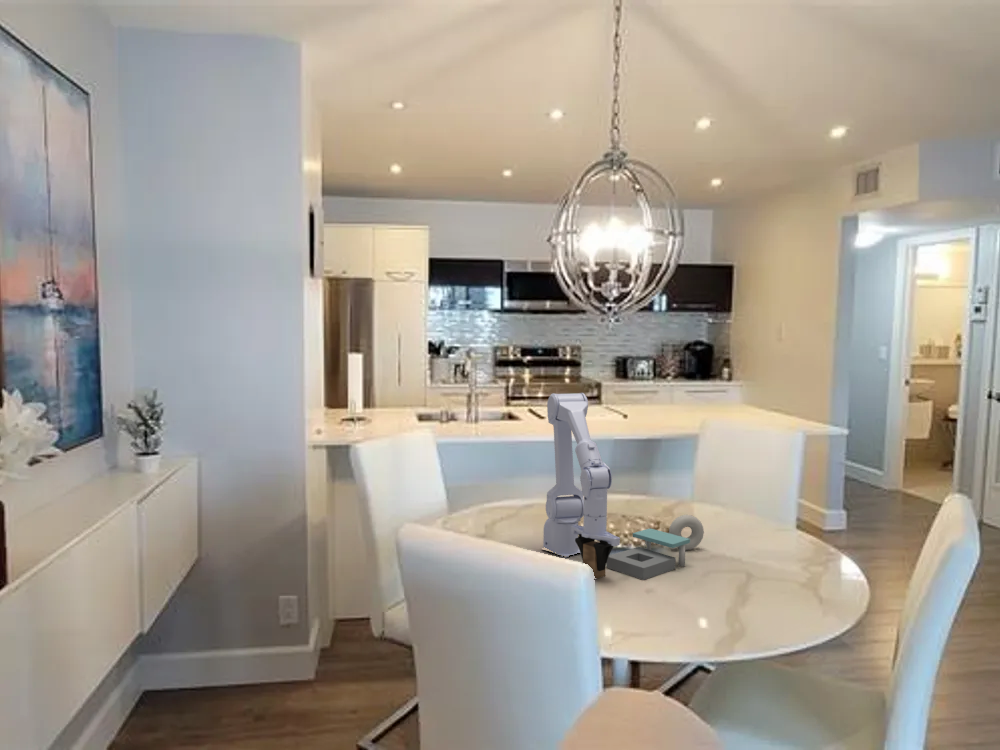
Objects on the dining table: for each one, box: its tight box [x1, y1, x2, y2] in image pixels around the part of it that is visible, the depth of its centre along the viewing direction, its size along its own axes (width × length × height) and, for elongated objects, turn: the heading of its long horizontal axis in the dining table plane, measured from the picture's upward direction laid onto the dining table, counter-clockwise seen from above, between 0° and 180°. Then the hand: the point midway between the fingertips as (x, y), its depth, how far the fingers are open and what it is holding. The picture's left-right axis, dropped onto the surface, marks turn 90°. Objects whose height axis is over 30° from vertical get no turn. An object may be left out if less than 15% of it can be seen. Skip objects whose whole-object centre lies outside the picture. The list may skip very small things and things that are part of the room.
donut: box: [668, 514, 705, 551], centre depth 209 cm, size 10×4×10 cm, turn 97°
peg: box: [582, 540, 607, 580], centre depth 187 cm, size 4×4×8 cm
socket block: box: [606, 546, 676, 581], centre depth 193 cm, size 12×13×3 cm
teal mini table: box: [632, 527, 690, 568], centre depth 198 cm, size 13×8×7 cm, turn 41°
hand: (594, 567), depth 187 cm, fingers closed on peg, 4 cm apart
